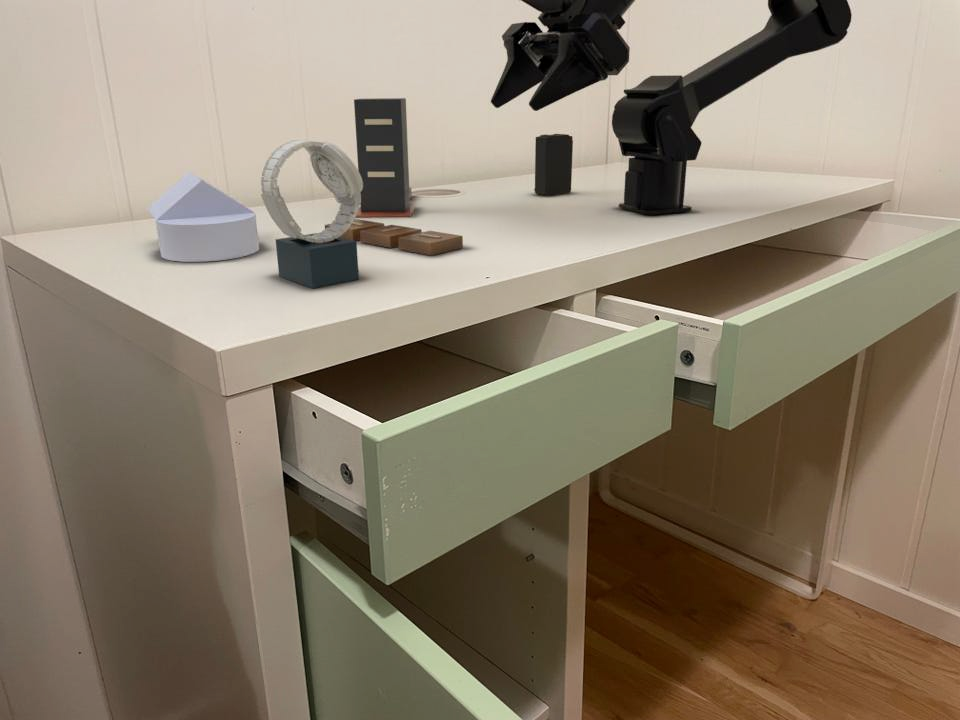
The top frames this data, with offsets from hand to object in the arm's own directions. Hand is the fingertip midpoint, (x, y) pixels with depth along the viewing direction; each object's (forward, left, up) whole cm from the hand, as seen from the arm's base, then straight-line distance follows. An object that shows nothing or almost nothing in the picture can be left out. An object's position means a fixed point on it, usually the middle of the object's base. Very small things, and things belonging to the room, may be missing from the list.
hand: (511, 106), depth 84 cm
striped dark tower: (+10, -14, -12) cm, 22 cm away
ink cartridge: (-16, -18, -13) cm, 27 cm away
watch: (+25, +15, -13) cm, 32 cm away
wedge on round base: (+32, -2, -13) cm, 35 cm away
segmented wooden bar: (+15, +4, -12) cm, 20 cm away
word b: (+8, -19, -12) cm, 24 cm away
